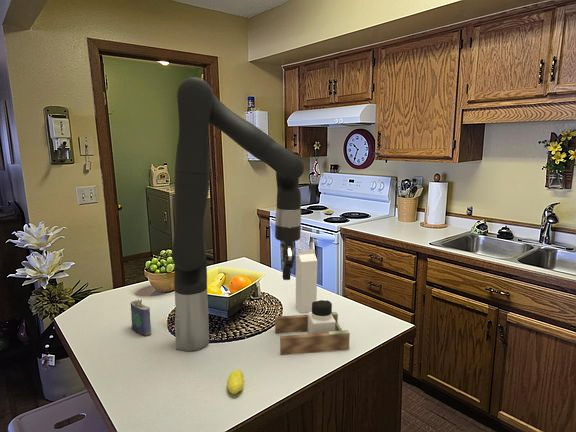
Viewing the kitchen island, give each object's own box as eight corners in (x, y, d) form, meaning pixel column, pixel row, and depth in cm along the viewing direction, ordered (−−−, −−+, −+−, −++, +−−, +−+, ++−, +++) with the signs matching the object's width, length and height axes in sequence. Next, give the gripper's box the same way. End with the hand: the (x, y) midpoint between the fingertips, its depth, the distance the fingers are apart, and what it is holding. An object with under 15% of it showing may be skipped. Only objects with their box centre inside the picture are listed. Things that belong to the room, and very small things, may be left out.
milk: (316, 311, 138) (318, 251, 134) (300, 313, 136) (301, 253, 132) (310, 304, 144) (312, 247, 139) (295, 306, 142) (296, 248, 138)
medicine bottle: (335, 343, 116) (336, 305, 114) (312, 345, 115) (312, 307, 113) (329, 331, 123) (330, 296, 121) (307, 333, 122) (307, 297, 120)
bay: (280, 355, 110) (280, 337, 109) (275, 331, 123) (275, 315, 122) (349, 349, 113) (349, 332, 112) (335, 327, 126) (336, 311, 125)
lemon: (246, 378, 99) (246, 364, 98) (241, 399, 91) (241, 384, 91) (230, 378, 99) (229, 364, 99) (224, 398, 92) (223, 384, 91)
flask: (153, 334, 121) (150, 302, 119) (144, 338, 119) (142, 305, 117) (137, 325, 127) (135, 294, 125) (129, 328, 125) (126, 297, 123)
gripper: (273, 218, 120) (271, 272, 123) (278, 228, 107) (276, 287, 110) (296, 218, 121) (295, 271, 124) (304, 228, 108) (302, 287, 112)
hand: (286, 279), depth 117 cm, fingers closed
